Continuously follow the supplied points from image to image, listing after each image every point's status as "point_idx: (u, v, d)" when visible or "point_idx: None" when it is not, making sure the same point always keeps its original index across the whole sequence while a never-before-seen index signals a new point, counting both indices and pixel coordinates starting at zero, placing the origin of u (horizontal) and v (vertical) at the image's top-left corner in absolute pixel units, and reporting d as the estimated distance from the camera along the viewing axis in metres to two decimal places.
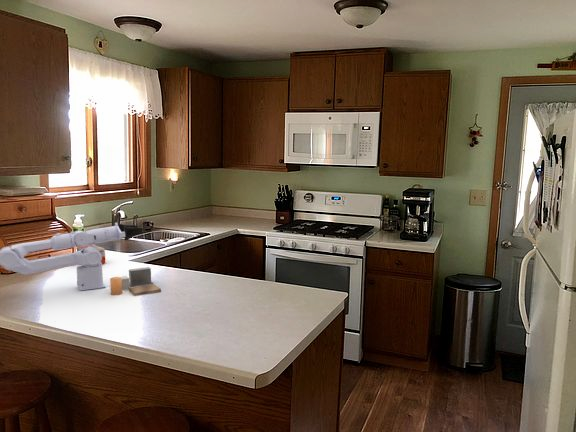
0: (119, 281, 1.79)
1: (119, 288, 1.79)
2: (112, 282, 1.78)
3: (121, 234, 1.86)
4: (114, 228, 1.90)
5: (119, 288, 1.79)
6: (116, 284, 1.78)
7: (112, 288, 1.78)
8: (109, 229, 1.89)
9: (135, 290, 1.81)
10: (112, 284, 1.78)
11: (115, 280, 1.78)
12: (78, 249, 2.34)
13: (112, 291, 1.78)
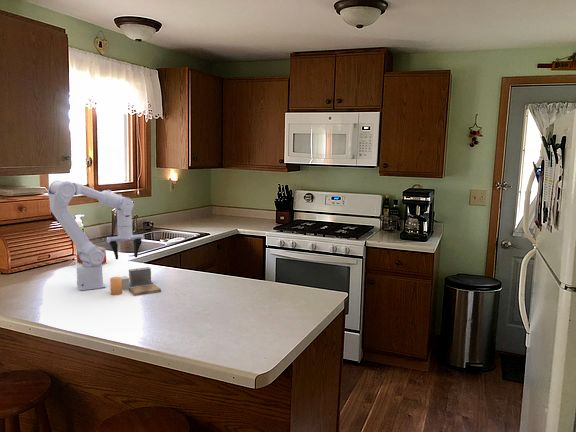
0: (119, 281, 1.79)
1: (119, 288, 1.79)
2: (112, 282, 1.78)
3: None
4: None
5: (119, 288, 1.79)
6: (116, 284, 1.78)
7: (112, 288, 1.78)
8: None
9: (135, 290, 1.81)
10: (112, 284, 1.78)
11: (115, 280, 1.78)
12: None
13: (112, 291, 1.78)
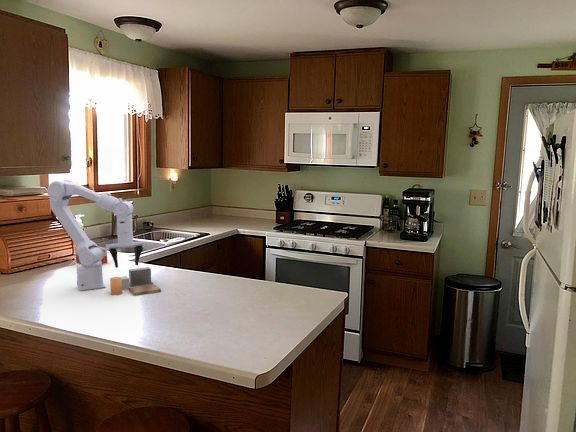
0: (119, 281, 1.79)
1: (119, 288, 1.79)
2: (112, 282, 1.78)
3: None
4: None
5: (119, 288, 1.79)
6: (116, 284, 1.78)
7: (112, 288, 1.78)
8: None
9: (135, 290, 1.81)
10: (112, 284, 1.78)
11: (115, 280, 1.78)
12: None
13: (112, 291, 1.78)
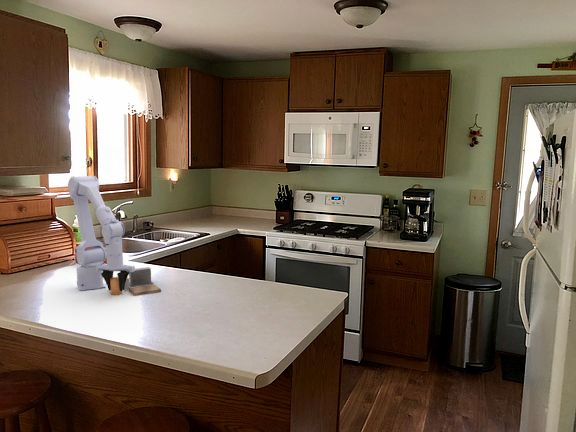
0: None
1: (119, 288, 1.79)
2: (112, 282, 1.78)
3: (133, 267, 1.78)
4: None
5: (119, 288, 1.79)
6: (116, 284, 1.78)
7: (112, 288, 1.78)
8: None
9: (135, 290, 1.81)
10: (112, 284, 1.78)
11: (115, 280, 1.78)
12: None
13: (112, 291, 1.78)
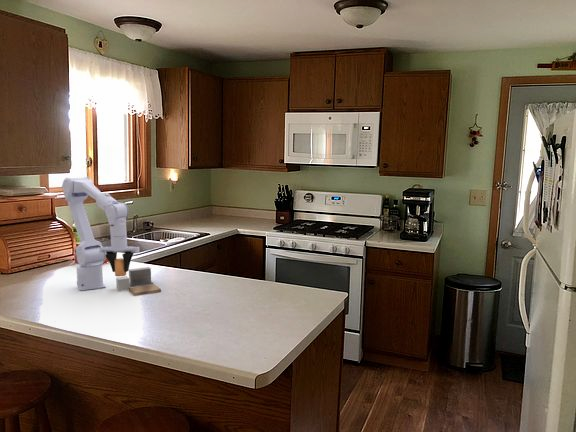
0: (123, 262, 1.78)
1: None
2: (117, 263, 1.77)
3: (138, 248, 1.79)
4: None
5: (123, 269, 1.78)
6: (121, 265, 1.78)
7: (117, 269, 1.78)
8: None
9: (135, 290, 1.81)
10: (117, 265, 1.77)
11: (120, 261, 1.77)
12: None
13: (116, 272, 1.78)
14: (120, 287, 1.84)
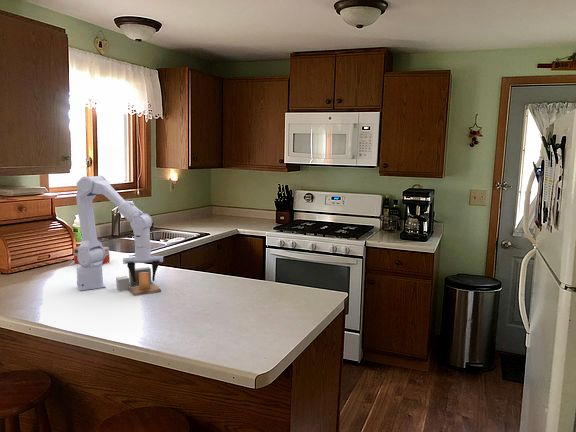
0: (148, 275, 1.82)
1: (148, 282, 1.83)
2: (142, 277, 1.81)
3: (162, 257, 1.84)
4: None
5: (148, 282, 1.82)
6: (146, 279, 1.81)
7: (142, 283, 1.81)
8: None
9: (135, 290, 1.81)
10: (142, 279, 1.81)
11: (145, 275, 1.81)
12: (77, 250, 2.31)
13: (142, 286, 1.81)
14: (120, 287, 1.84)
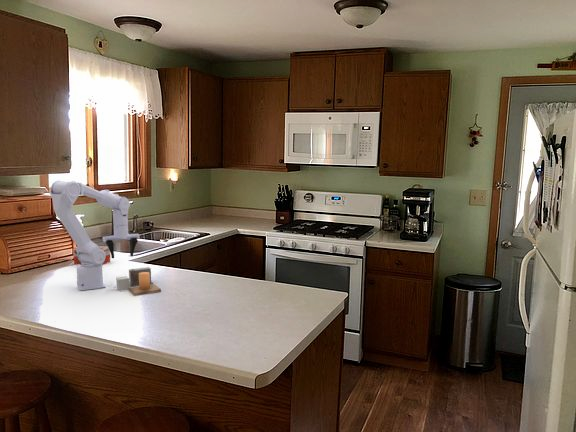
0: (148, 275, 1.82)
1: (148, 282, 1.83)
2: (142, 277, 1.81)
3: None
4: None
5: (148, 282, 1.82)
6: (146, 279, 1.81)
7: (142, 283, 1.81)
8: None
9: (135, 290, 1.81)
10: (142, 279, 1.81)
11: (146, 275, 1.81)
12: None
13: (142, 286, 1.81)
14: (120, 287, 1.84)
